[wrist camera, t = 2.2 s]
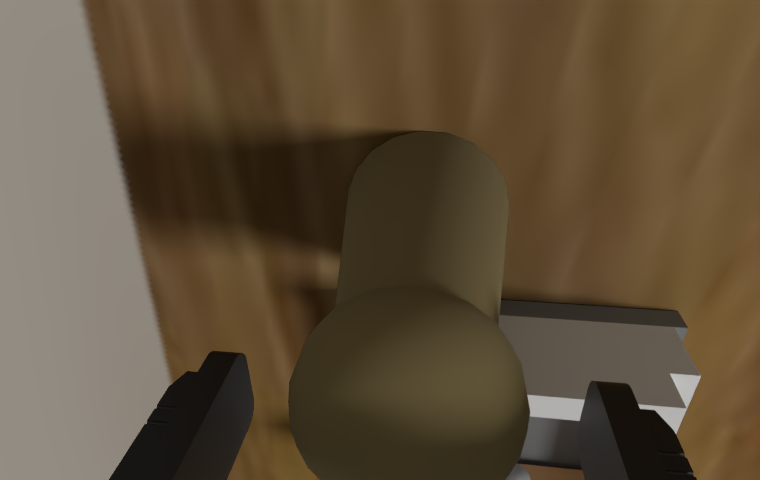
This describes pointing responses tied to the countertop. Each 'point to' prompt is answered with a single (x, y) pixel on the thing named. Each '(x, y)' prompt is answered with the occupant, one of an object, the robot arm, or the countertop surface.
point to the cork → (415, 326)
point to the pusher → (543, 473)
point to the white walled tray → (593, 367)
